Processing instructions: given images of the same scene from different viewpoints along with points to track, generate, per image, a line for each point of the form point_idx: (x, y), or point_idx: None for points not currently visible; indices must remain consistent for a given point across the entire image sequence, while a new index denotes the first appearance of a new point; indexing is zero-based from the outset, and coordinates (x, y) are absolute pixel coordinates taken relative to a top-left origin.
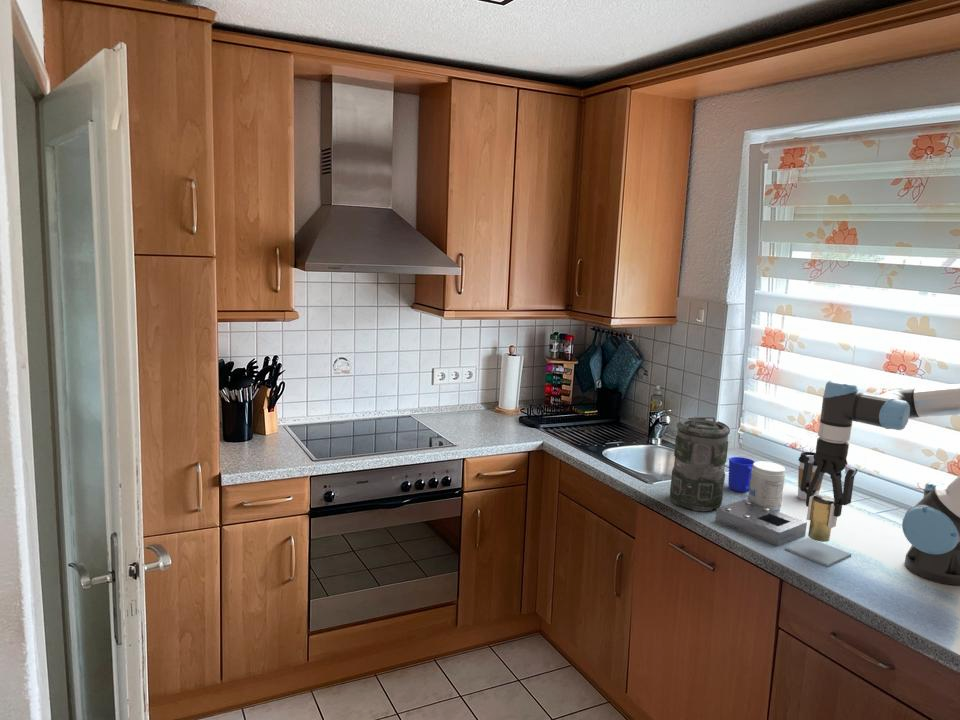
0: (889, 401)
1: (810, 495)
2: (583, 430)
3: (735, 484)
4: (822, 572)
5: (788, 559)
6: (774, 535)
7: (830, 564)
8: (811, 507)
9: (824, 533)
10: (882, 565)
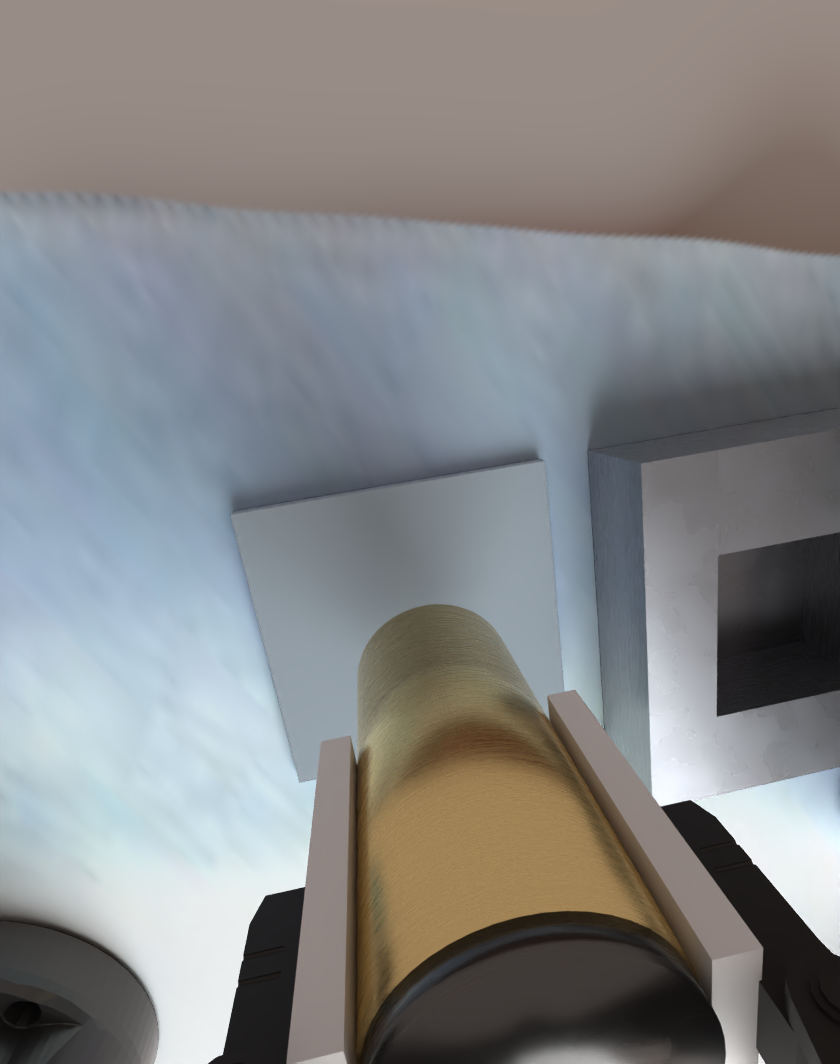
0: None
1: (782, 990)
2: None
3: None
4: (179, 398)
5: (421, 342)
6: (657, 452)
7: (238, 543)
8: (614, 813)
9: (367, 684)
10: (143, 840)
